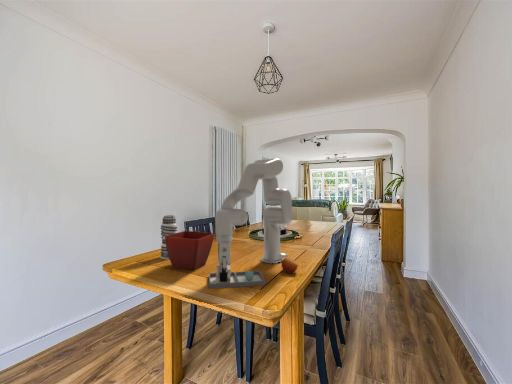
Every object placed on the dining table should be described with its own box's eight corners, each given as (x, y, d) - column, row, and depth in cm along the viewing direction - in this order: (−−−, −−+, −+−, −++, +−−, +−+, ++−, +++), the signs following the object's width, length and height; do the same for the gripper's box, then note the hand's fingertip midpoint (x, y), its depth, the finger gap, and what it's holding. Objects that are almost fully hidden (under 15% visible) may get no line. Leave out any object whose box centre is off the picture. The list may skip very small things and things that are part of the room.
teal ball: (252, 278, 107) (252, 269, 107) (254, 281, 103) (254, 272, 103) (244, 278, 106) (244, 269, 106) (245, 281, 102) (245, 272, 102)
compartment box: (259, 274, 112) (259, 270, 112) (265, 285, 100) (265, 281, 100) (209, 277, 108) (209, 273, 108) (208, 289, 95) (208, 284, 95)
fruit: (276, 266, 121) (284, 253, 121) (289, 274, 121) (297, 261, 122) (279, 272, 113) (288, 258, 113) (292, 280, 113) (301, 266, 114)
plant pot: (214, 262, 130) (214, 232, 130) (196, 274, 112) (197, 239, 112) (184, 259, 135) (185, 230, 135) (163, 269, 117) (163, 236, 117)
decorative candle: (156, 257, 137) (157, 215, 137) (170, 254, 145) (171, 214, 145) (165, 260, 132) (166, 216, 132) (179, 257, 139) (180, 215, 139)
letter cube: (229, 278, 106) (229, 265, 106) (230, 283, 100) (230, 269, 100) (215, 279, 105) (216, 265, 105) (216, 284, 99) (216, 270, 99)
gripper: (234, 242, 95) (233, 286, 95) (230, 234, 112) (229, 271, 112) (215, 242, 93) (214, 287, 93) (214, 234, 110) (214, 272, 110)
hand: (223, 278), depth 102 cm, fingers closed on letter cube, 6 cm apart
